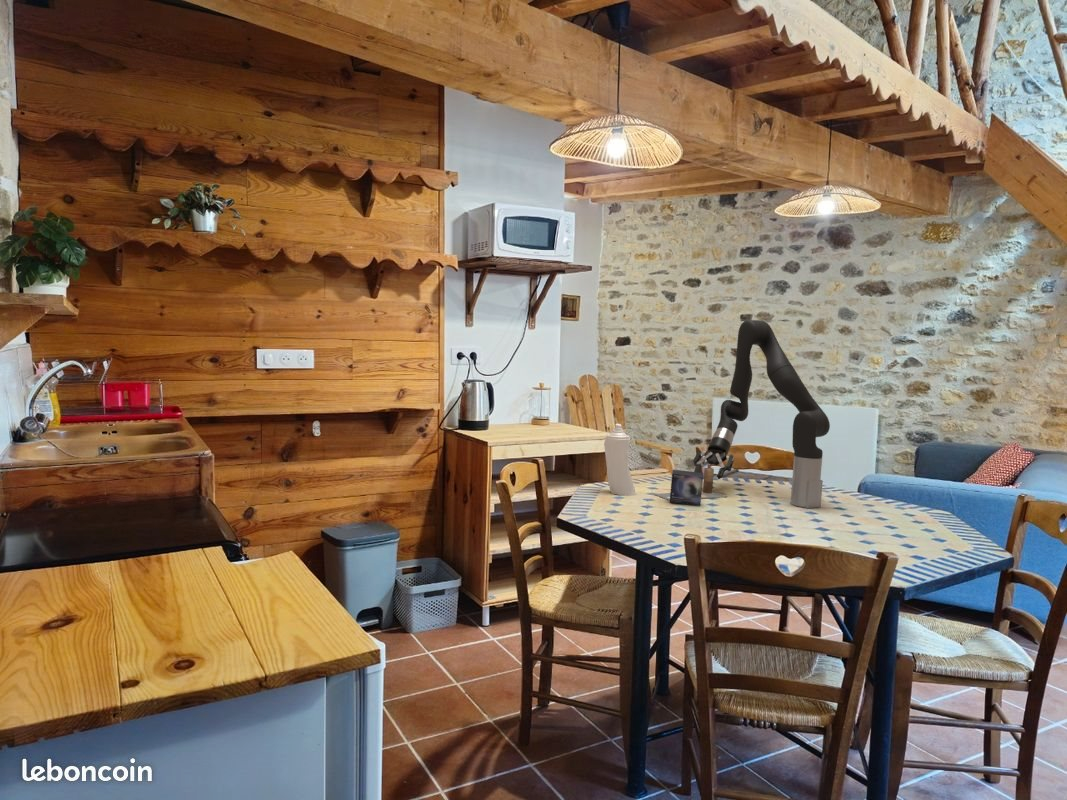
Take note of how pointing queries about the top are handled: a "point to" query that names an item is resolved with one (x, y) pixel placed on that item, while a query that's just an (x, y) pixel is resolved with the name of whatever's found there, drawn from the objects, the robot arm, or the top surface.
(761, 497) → the top surface
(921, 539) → the top surface
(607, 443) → the spray can
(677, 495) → the small box
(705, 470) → the peg
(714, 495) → the board
